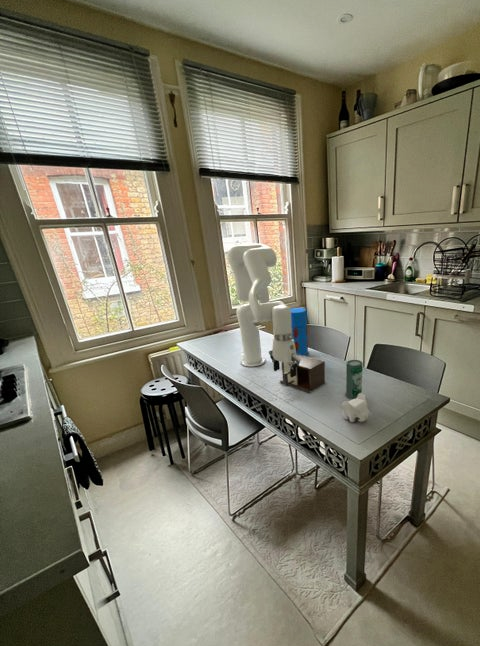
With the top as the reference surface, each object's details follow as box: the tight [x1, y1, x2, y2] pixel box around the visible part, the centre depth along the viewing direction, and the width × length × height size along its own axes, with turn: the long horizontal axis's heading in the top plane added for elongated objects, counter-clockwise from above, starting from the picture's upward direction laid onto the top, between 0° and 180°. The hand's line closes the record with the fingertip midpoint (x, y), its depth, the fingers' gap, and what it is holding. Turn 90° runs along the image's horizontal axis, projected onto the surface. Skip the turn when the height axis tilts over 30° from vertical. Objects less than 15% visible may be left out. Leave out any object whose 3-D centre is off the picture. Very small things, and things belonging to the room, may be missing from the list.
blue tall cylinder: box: [290, 307, 309, 356], centre depth 176 cm, size 11×11×25 cm
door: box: [284, 363, 298, 387], centre depth 140 cm, size 7×6×9 cm
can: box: [345, 359, 364, 400], centre depth 131 cm, size 6×6×15 cm
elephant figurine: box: [340, 392, 374, 423], centre depth 116 cm, size 10×12×9 cm
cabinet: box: [279, 354, 326, 394], centre depth 144 cm, size 17×12×11 cm
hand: (285, 373), depth 137 cm, fingers open, 9 cm apart
